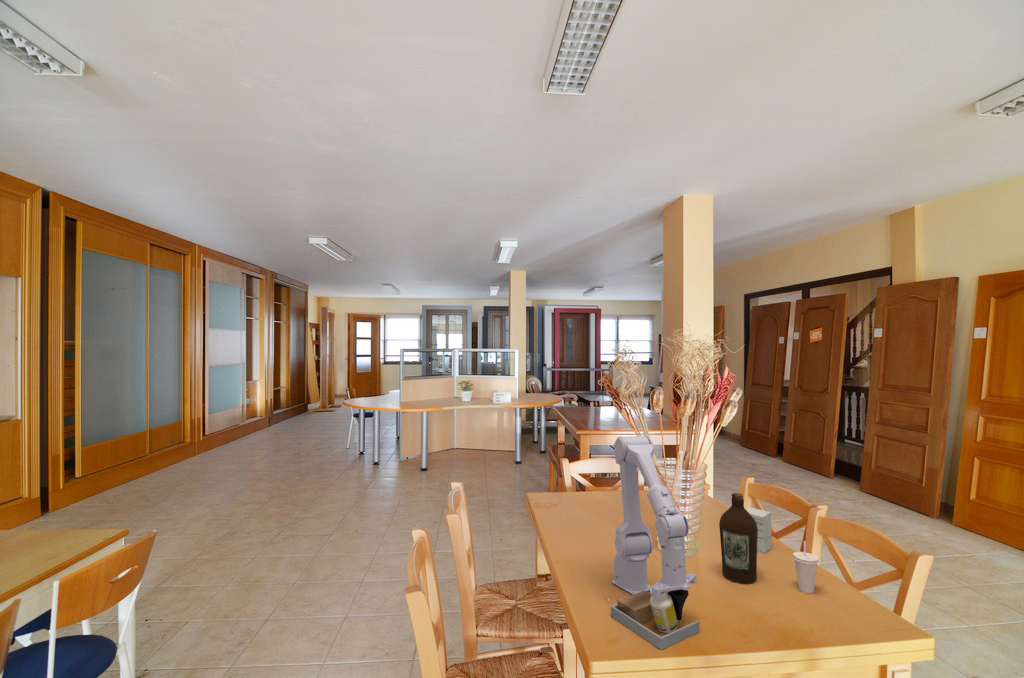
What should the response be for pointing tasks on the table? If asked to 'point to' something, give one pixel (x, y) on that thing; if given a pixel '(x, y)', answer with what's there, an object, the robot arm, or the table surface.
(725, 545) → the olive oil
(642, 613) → the block
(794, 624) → the table surface
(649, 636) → the grey bracket
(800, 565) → the smoothie
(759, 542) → the supplement box
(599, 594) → the table surface
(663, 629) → the supplement bottle
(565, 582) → the table surface
